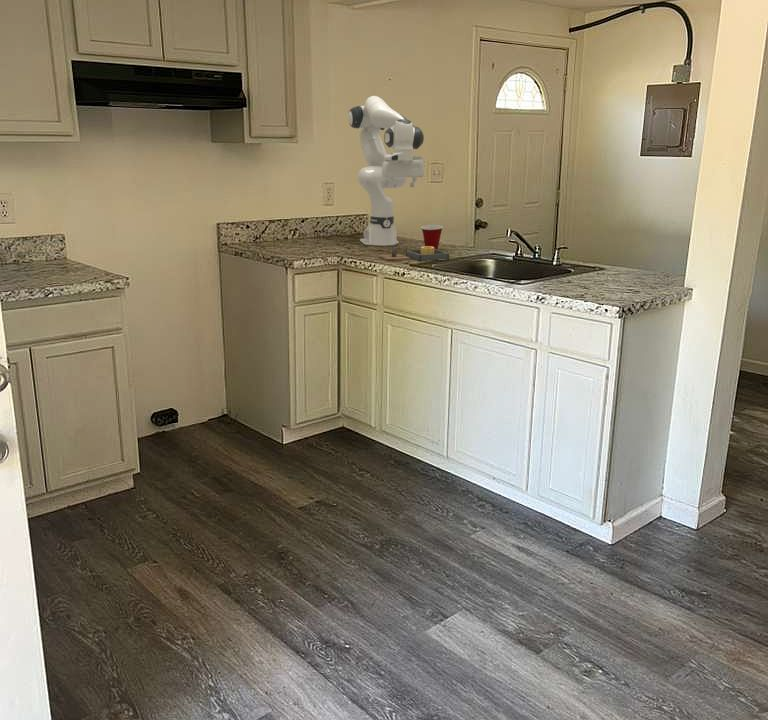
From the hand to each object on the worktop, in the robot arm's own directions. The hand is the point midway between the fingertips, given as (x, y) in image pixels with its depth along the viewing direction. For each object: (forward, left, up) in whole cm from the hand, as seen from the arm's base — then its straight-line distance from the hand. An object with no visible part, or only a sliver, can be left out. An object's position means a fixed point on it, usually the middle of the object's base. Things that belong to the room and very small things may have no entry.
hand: (402, 187), depth 353 cm
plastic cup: (-4, +18, -31) cm, 36 cm away
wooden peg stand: (+11, -9, -31) cm, 34 cm away
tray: (+15, +6, -31) cm, 35 cm away
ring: (+15, +6, -30) cm, 34 cm away
